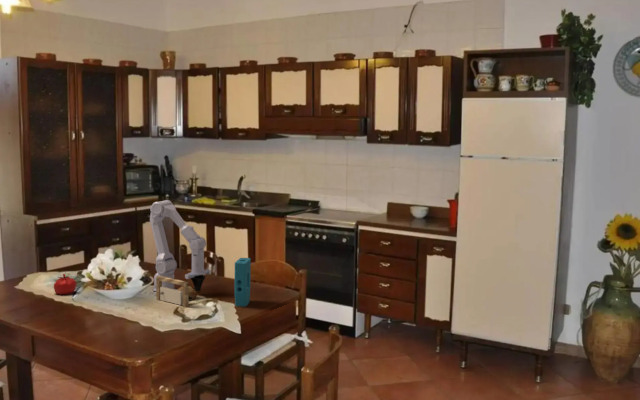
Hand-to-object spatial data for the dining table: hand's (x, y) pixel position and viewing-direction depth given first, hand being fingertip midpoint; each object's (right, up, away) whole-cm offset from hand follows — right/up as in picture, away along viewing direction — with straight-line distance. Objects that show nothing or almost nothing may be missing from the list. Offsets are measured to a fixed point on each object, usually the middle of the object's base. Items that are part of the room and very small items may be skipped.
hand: (197, 290), depth 289 cm
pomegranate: (-62, -1, -1) cm, 63 cm away
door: (-9, -3, -15) cm, 17 cm away
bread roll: (-5, -3, -6) cm, 8 cm away
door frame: (-9, -3, -14) cm, 17 cm away
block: (+23, -4, -13) cm, 27 cm away
